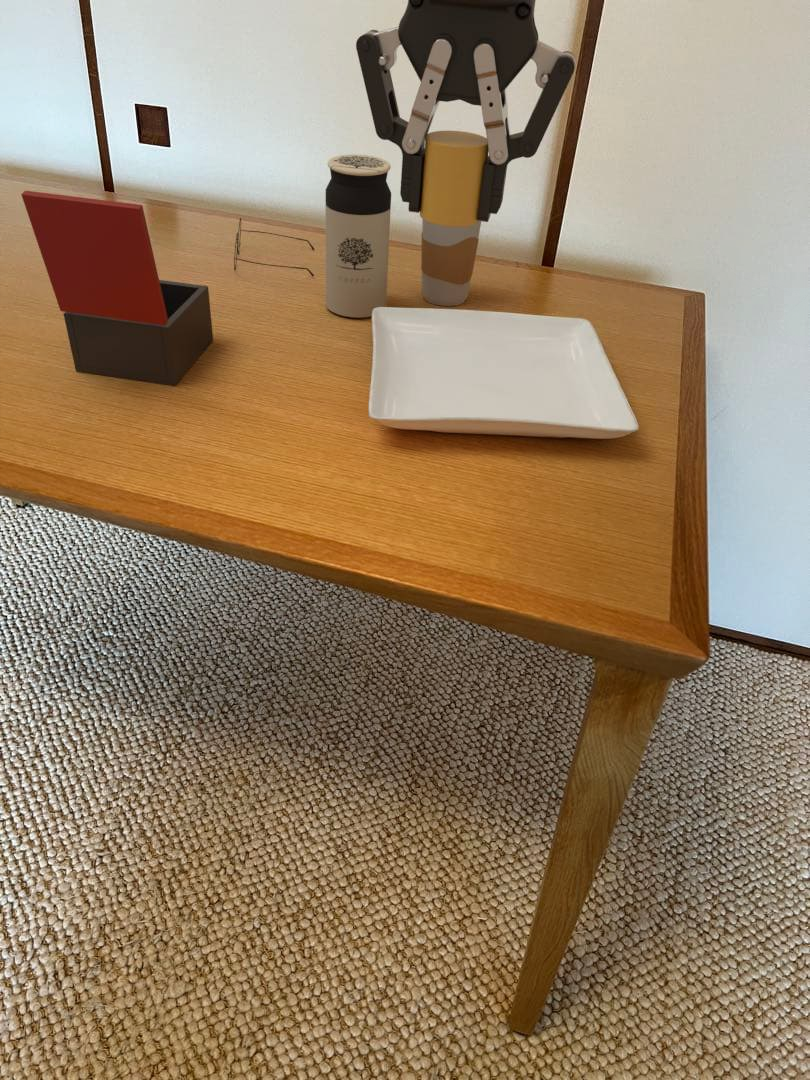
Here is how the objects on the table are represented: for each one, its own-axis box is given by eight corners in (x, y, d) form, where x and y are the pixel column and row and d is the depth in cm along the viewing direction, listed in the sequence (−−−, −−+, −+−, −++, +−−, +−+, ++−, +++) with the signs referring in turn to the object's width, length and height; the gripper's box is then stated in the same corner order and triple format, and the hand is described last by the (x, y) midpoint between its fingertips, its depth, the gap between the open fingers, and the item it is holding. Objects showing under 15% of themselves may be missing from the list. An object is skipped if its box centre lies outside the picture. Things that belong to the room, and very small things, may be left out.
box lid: (24, 190, 76) (20, 194, 76) (142, 204, 75) (139, 208, 74) (63, 307, 86) (60, 311, 85) (168, 321, 84) (165, 326, 84)
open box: (122, 328, 99) (112, 273, 95) (213, 340, 98) (208, 286, 93) (75, 371, 90) (63, 313, 86) (175, 386, 89) (167, 327, 85)
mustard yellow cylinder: (434, 229, 54) (441, 147, 51) (410, 208, 57) (415, 131, 54) (490, 225, 55) (501, 146, 52) (464, 205, 58) (472, 129, 55)
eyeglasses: (314, 247, 124) (314, 213, 121) (314, 279, 114) (313, 243, 111) (239, 245, 123) (237, 211, 119) (232, 277, 113) (230, 241, 110)
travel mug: (337, 291, 111) (338, 150, 100) (393, 301, 110) (400, 159, 99) (316, 313, 105) (315, 166, 94) (375, 324, 104) (381, 175, 93)
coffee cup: (446, 281, 117) (457, 170, 107) (486, 301, 112) (501, 187, 102) (401, 293, 112) (408, 178, 103) (441, 314, 108) (452, 197, 98)
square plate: (634, 459, 83) (643, 427, 80) (366, 448, 81) (367, 414, 79) (585, 342, 104) (591, 313, 101) (371, 331, 102) (372, 301, 100)
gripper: (340, -114, 43) (336, 217, 54) (611, -90, 42) (550, 245, 52) (371, -113, 49) (361, 186, 60) (610, -92, 47) (555, 211, 58)
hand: (450, 212), depth 56 cm, fingers closed on mustard yellow cylinder, 4 cm apart
